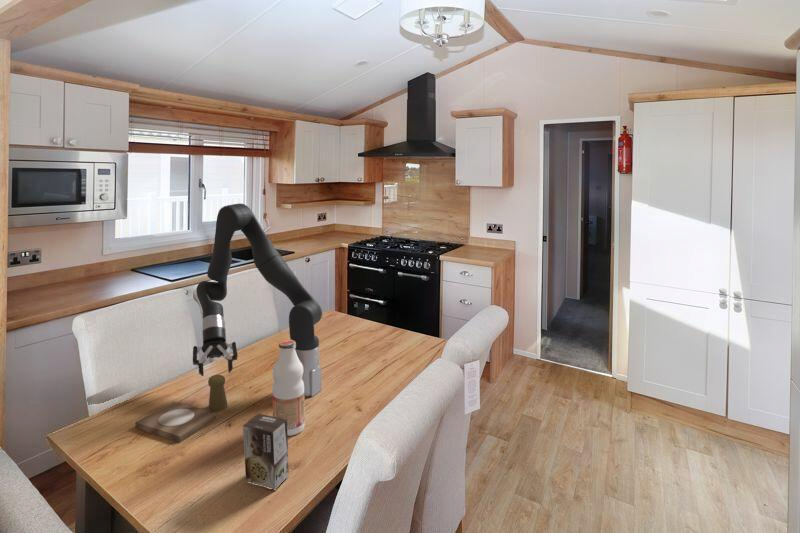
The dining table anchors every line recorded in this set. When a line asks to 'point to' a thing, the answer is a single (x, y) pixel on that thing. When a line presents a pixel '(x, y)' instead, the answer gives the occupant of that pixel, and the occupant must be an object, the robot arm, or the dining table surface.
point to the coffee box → (266, 450)
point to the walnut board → (176, 421)
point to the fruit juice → (289, 388)
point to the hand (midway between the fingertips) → (216, 373)
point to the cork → (217, 393)
